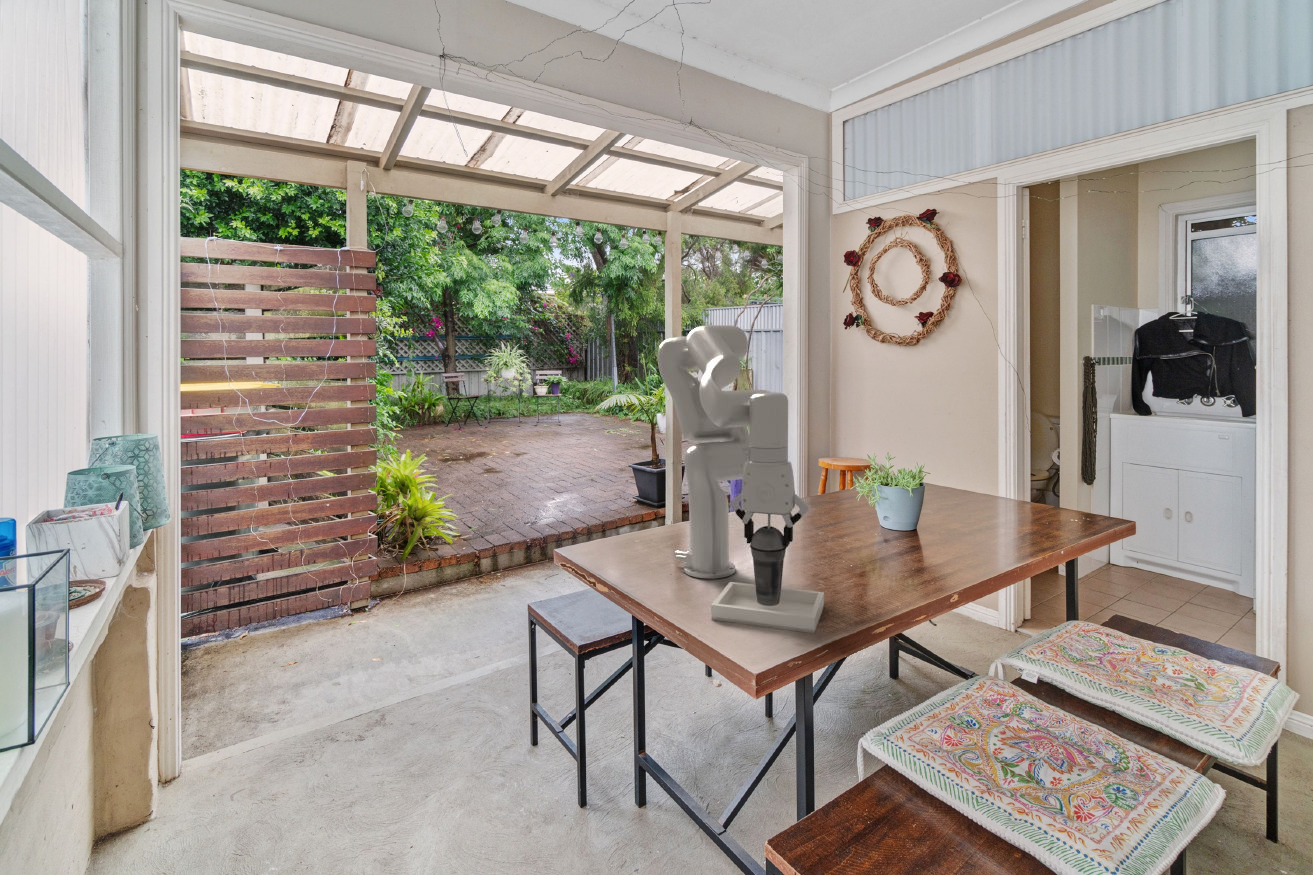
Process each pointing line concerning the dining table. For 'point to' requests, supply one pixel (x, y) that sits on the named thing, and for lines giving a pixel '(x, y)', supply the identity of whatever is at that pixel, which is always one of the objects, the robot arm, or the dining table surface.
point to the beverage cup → (768, 563)
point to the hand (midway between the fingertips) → (768, 542)
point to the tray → (769, 608)
